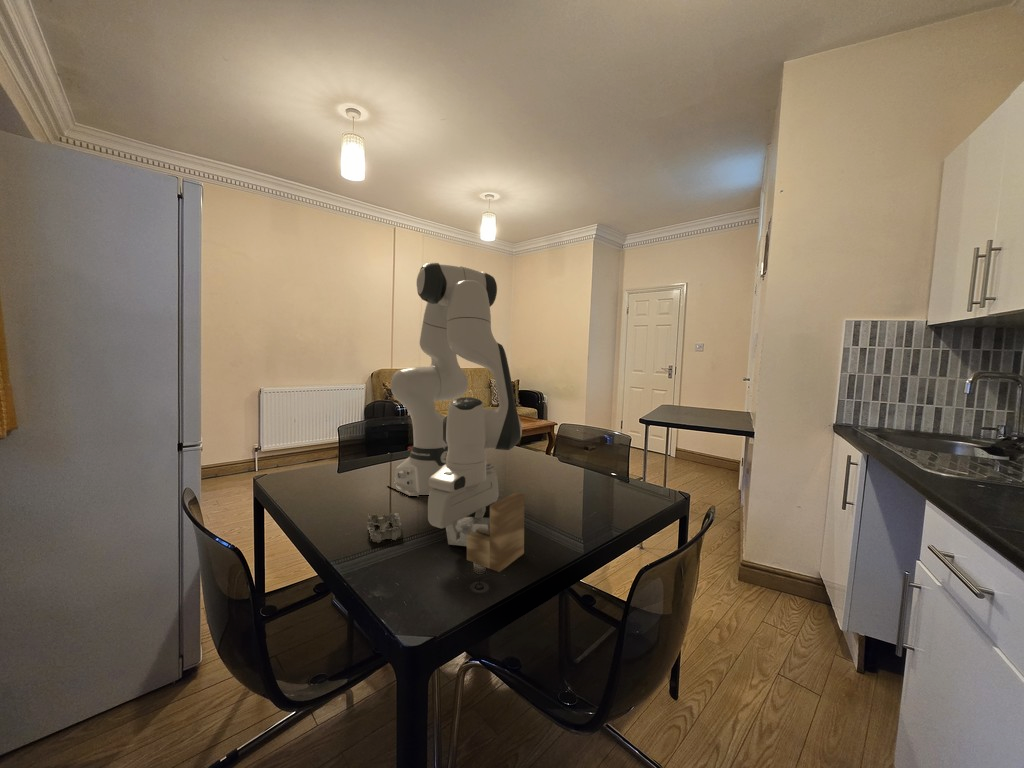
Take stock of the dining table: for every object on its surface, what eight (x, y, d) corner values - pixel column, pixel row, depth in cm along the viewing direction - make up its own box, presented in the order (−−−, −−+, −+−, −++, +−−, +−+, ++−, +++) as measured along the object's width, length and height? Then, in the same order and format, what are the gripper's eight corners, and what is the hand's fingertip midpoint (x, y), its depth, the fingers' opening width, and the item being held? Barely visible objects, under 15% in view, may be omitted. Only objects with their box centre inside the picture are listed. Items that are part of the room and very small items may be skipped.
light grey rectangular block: (448, 544, 90) (443, 516, 90) (460, 538, 93) (456, 511, 94) (494, 549, 81) (489, 518, 82) (506, 542, 85) (501, 512, 85)
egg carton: (367, 527, 99) (366, 511, 99) (398, 523, 102) (398, 507, 102) (368, 546, 89) (368, 528, 89) (403, 540, 92) (402, 523, 92)
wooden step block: (466, 559, 83) (466, 499, 82) (492, 543, 91) (492, 487, 90) (499, 572, 79) (499, 508, 78) (523, 553, 86) (524, 494, 85)
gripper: (484, 459, 98) (483, 514, 99) (422, 481, 81) (423, 546, 82) (505, 463, 95) (504, 520, 96) (445, 486, 78) (445, 555, 79)
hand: (466, 532), depth 89 cm, fingers open, 6 cm apart
